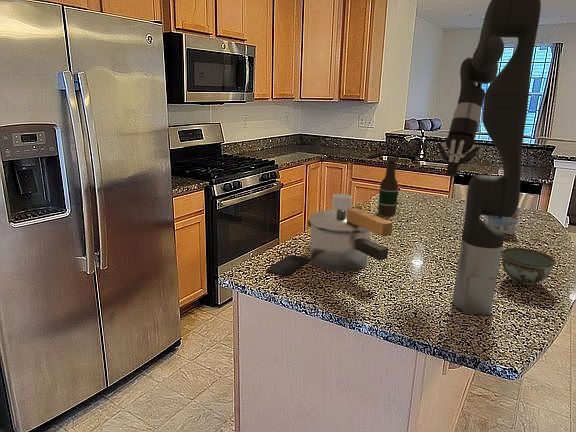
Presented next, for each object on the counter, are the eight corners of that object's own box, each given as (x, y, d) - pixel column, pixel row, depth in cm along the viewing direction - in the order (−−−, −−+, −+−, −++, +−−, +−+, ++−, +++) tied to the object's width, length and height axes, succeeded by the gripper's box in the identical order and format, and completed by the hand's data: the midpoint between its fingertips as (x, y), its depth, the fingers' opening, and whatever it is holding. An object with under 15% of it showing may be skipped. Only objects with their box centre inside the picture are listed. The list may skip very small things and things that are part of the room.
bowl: (503, 268, 132) (508, 243, 130) (553, 280, 124) (559, 255, 122) (491, 282, 122) (496, 256, 120) (544, 297, 114) (551, 269, 112)
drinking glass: (348, 239, 154) (351, 198, 150) (329, 237, 156) (331, 197, 151) (349, 233, 161) (352, 194, 156) (331, 231, 162) (333, 193, 158)
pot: (292, 251, 141) (293, 216, 138) (335, 242, 150) (337, 209, 147) (356, 289, 115) (360, 248, 112) (403, 276, 125) (408, 237, 121)
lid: (299, 218, 135) (299, 199, 134) (347, 211, 144) (349, 194, 142) (357, 250, 110) (359, 227, 108) (412, 240, 118) (414, 219, 117)
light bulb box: (485, 231, 167) (490, 205, 164) (482, 226, 173) (486, 200, 170) (515, 234, 165) (520, 207, 161) (511, 229, 171) (516, 203, 168)
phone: (310, 259, 135) (287, 275, 122) (310, 261, 135) (287, 278, 122) (289, 254, 138) (265, 269, 125) (289, 256, 138) (265, 272, 125)
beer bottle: (376, 214, 186) (381, 159, 179) (378, 210, 193) (383, 157, 186) (395, 216, 183) (400, 161, 177) (396, 212, 191) (401, 158, 184)
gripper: (440, 115, 130) (425, 169, 129) (486, 117, 122) (471, 175, 121) (446, 124, 136) (432, 176, 135) (490, 127, 128) (476, 182, 127)
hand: (451, 175), depth 128 cm, fingers closed
